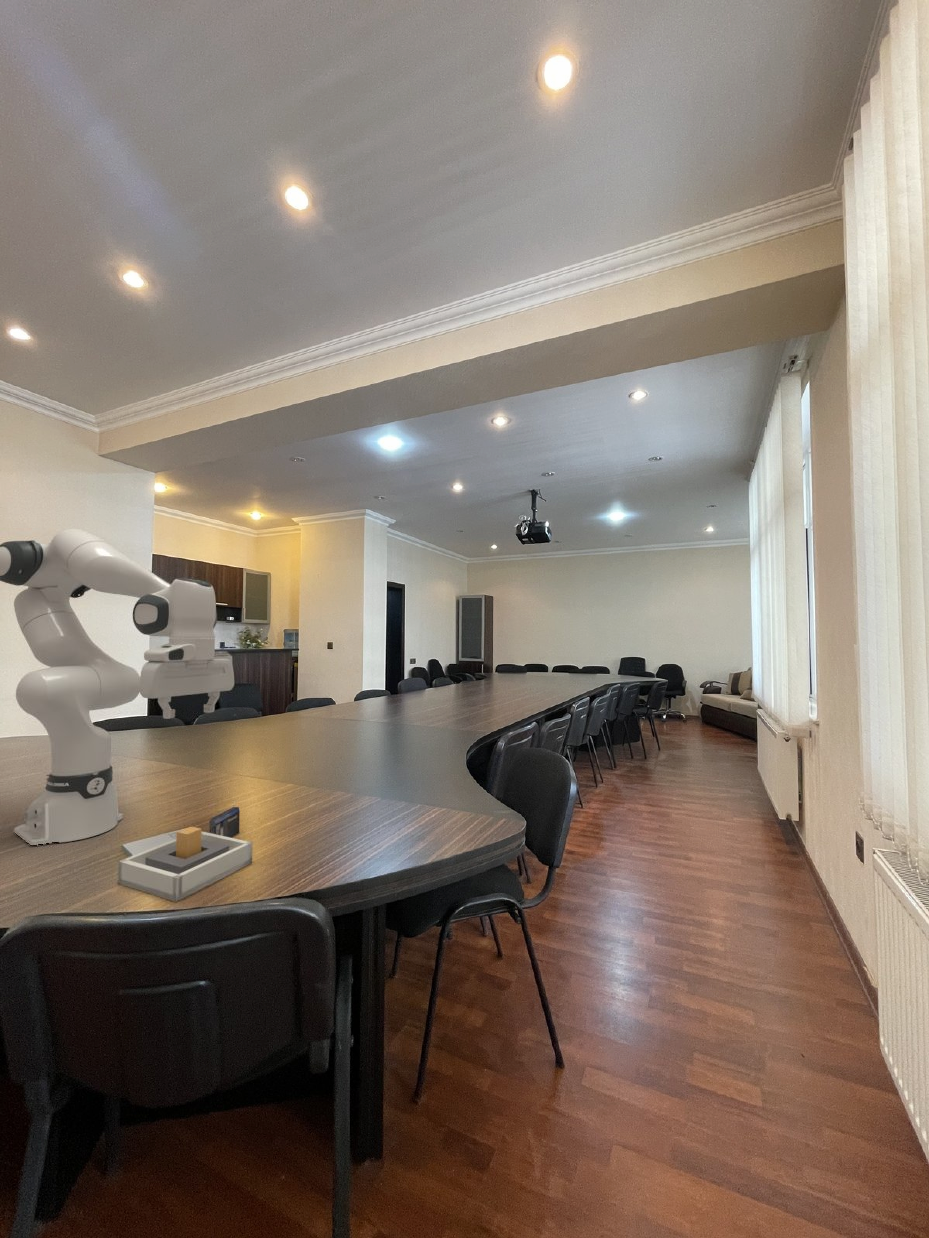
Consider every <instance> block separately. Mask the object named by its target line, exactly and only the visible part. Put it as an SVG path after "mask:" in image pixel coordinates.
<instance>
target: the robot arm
mask: <svg viewBox="0 0 929 1238" xmlns="http://www.w3.org/2000/svg"><path fill="white" fill-rule="evenodd" d="M0 582H3V583H5V584H9V585H13V586H16V587H19V586H20V587H21V586H23V587H27V588H26V589H23V590H21V591H20V592H19V593H18V594H17V595H16V597H15V598H14V600H13V608H14V613H15V617H16V621H17V623H18V626H19V629H20V631H21V633H22V635H23V636H24V639H25V641H26V642H27V645H28V647H29V648H30V650H31V652H32V655H33V657H34V658H35V659H36V660H37V661H38V662H39V663H41V664H42V665H44V666H47V667H48V668H46V667H45V668H41V669H38V670H34V671H33V670H32V671H30V672H28V673H26V674H25V675H24V676H23V677H22V678H21V680H20V681H19V682H18V684H17V686H16V690H15V699H16V702H17V704H18V705H19V707H20V708H21V710H23V711H24V712H25V713H26V714H28V715H31V716H33V717H34V719H36V720H38V721H39V722H40V724H42V725H43V727H44V729H45V730H46V732H47V735H48V738H49V741H50V752H51V754H50V755H51V765H50V766H51V769H50V770H51V772H50V773H49V774H46V777H47V778H46V785H45V787H44V788H45V791H44V792H42V794H41V795H39V796H38V798H36V799H35V800H34V801H33V802H32V803H30V804H29V806H28V810H26V811H24V814H23V817H24V821H25V823H22V824H20V825H17V826H16V827H14V828H13V833H14V832H16V833H17V834H18V835H20V837H22V838H24V839H25V840H26V842H29V844H30V845H37V846H39V845H38V844H43V845H47V844H46V843H49V844H53V843H52V842H59V843H67V842H72V841H74V842H75V841H78V840H84V839H87V838H90V837H91V838H92V837H94V836H97V835H98V836H99V835H101V834H104V833H106V832H108V831H110V830H112V829H114V828H115V827H116V826H117V825H118V822H120V821H121V820H122V819H123V818H124V816H123V813H120V812H119V806H118V792H117V791H118V790H117V787H116V786H115V785H113V784H112V781H113V775H114V771H113V766H112V764H111V759H112V758H111V755H112V753H111V752H112V737H111V734H110V733H109V732H108V731H107V730H106V729H104V728H102V727H99V726H96V725H94V724H93V722H92V720H91V717H90V711H97V710H105V709H112V708H117V707H119V706H122V705H126V704H128V703H131V702H133V701H134V700H135V699H136V698H137V697H138V696H139V694H140V696H141V697H142V698H145V699H157V703H158V705H159V706H160V708H161V710H162V719H166V720H167V719H168V720H169V719H174V718H176V709H174V708H173V709H172V708H171V706H170V703H171V701H172V697H181V696H188V695H189V696H190V695H200V694H207V696H208V697H209V698H208V700H207V703H206V704H203V713H204V714H205V713H206V714H207V713H209V714H210V713H214V712H215V709H216V708H215V707H216V703H217V702H218V700H219V698H220V695H221V692H227V691H231V690H233V688H234V686H235V673H234V666H233V656H232V655H231V654H230V653H229V652H228V651H224V650H223V651H222V650H221V651H215V647H216V646H215V644H216V635H215V632H214V628H215V627H216V624H217V622H218V612H217V607H216V606H217V605H216V604H217V603H216V594H215V589H214V586H213V585H212V584H211V583H210V582H207V581H205V580H199V579H193V578H186V577H180V578H179V577H178V578H175V579H174V580H173V581H172V583H171V582H169V581H168V580H166V579H164V578H162V577H161V576H160V575H158V574H156V573H154V572H152V571H151V570H149V569H147V568H146V567H145V566H142V565H141V564H139V563H138V562H136V561H135V560H133V559H132V558H130V557H129V556H127V555H126V554H124V553H123V552H121V551H120V550H119V549H117V548H115V547H114V546H113V545H112V544H111V543H109V542H108V541H106V540H104V539H102V538H101V537H99V536H97V535H95V534H93V533H91V532H89V531H87V530H84V529H80V528H67V529H63V530H61V531H59V532H57V533H56V534H55V535H54V536H53V538H52V540H51V541H50V543H40V542H37V541H36V540H10V541H4V542H2V543H0ZM90 590H93V591H96V592H100V593H104V594H112V595H118V596H119V595H120V596H126V597H127V596H128V597H133V598H138V600H137V601H136V602H135V604H134V607H133V608H132V621H133V624H134V626H135V628H136V629H137V630H138V632H140V633H141V634H142V635H147V636H150V637H166V638H168V643H166V644H162V645H160V646H157V647H153V648H150V649H147V650H145V651H144V653H143V659H144V660H145V661H146V662H145V663H143V666H142V668H141V671H140V674H139V673H138V671H137V670H136V669H135V668H134V667H131V666H129V665H126V664H124V663H122V662H119V661H118V660H116V659H114V658H113V657H111V656H110V655H109V654H107V653H106V652H104V651H103V650H102V649H101V648H100V647H99V646H98V645H97V644H96V643H94V642H93V640H92V639H91V638H90V637H89V635H88V633H87V631H86V630H85V629H84V627H83V625H82V623H81V622H80V620H79V618H78V616H77V614H76V612H75V611H74V609H73V608H72V606H71V603H70V599H71V598H72V599H76V598H77V599H78V598H82V597H83V596H84V595H85V593H86V592H89V591H90ZM20 837H19V838H20ZM26 842H25V843H26ZM29 844H28V845H29ZM30 845H29V846H30Z"/></svg>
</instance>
